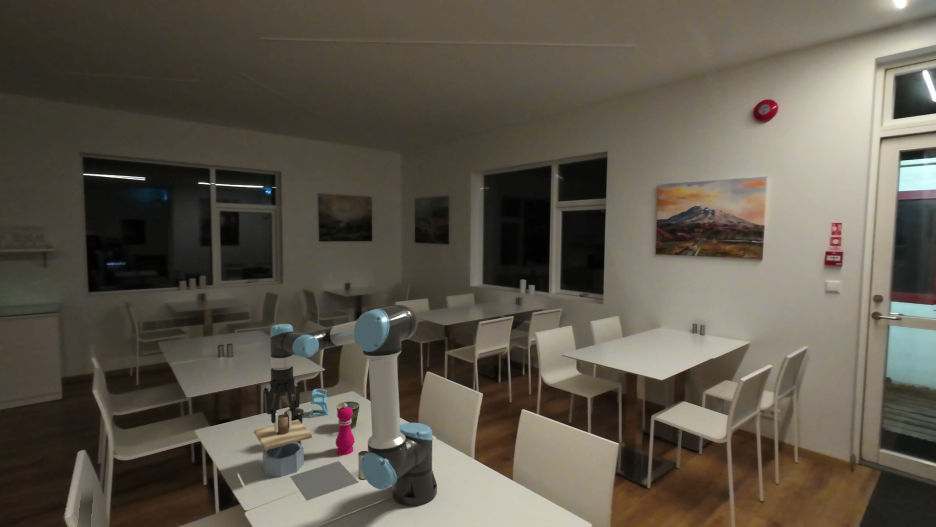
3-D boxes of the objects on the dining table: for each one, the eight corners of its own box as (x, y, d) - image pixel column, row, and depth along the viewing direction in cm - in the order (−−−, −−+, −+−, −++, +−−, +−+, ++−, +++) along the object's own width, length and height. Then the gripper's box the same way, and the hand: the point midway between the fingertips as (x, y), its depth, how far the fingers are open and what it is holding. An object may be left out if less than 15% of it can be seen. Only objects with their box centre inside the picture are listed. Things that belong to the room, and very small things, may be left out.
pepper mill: (331, 454, 177) (331, 404, 176) (344, 446, 184) (344, 398, 182) (345, 458, 174) (345, 408, 173) (358, 450, 180) (358, 402, 179)
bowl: (307, 470, 165) (307, 451, 165) (269, 482, 157) (269, 462, 157) (296, 456, 176) (295, 438, 175) (260, 466, 168) (259, 448, 167)
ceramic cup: (335, 424, 205) (334, 402, 204) (357, 420, 209) (357, 399, 208) (339, 436, 193) (339, 413, 192) (363, 432, 197) (363, 410, 196)
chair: (327, 417, 213) (327, 392, 212) (308, 417, 211) (308, 392, 211) (329, 410, 220) (329, 386, 219) (312, 411, 219) (312, 387, 218)
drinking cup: (307, 440, 189) (306, 393, 187) (298, 449, 181) (298, 400, 180) (290, 439, 189) (289, 392, 188) (280, 447, 182) (280, 399, 180)
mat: (358, 483, 157) (358, 482, 157) (306, 502, 146) (306, 500, 146) (338, 462, 171) (338, 461, 171) (290, 477, 160) (290, 476, 160)
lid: (311, 437, 164) (311, 418, 164) (265, 450, 154) (265, 430, 154) (298, 422, 177) (297, 404, 176) (254, 433, 167) (253, 414, 166)
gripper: (302, 360, 172) (302, 419, 174) (254, 368, 161) (255, 431, 163) (309, 365, 166) (309, 426, 168) (259, 373, 155) (260, 439, 157)
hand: (282, 428), depth 165 cm, fingers closed on lid, 4 cm apart
